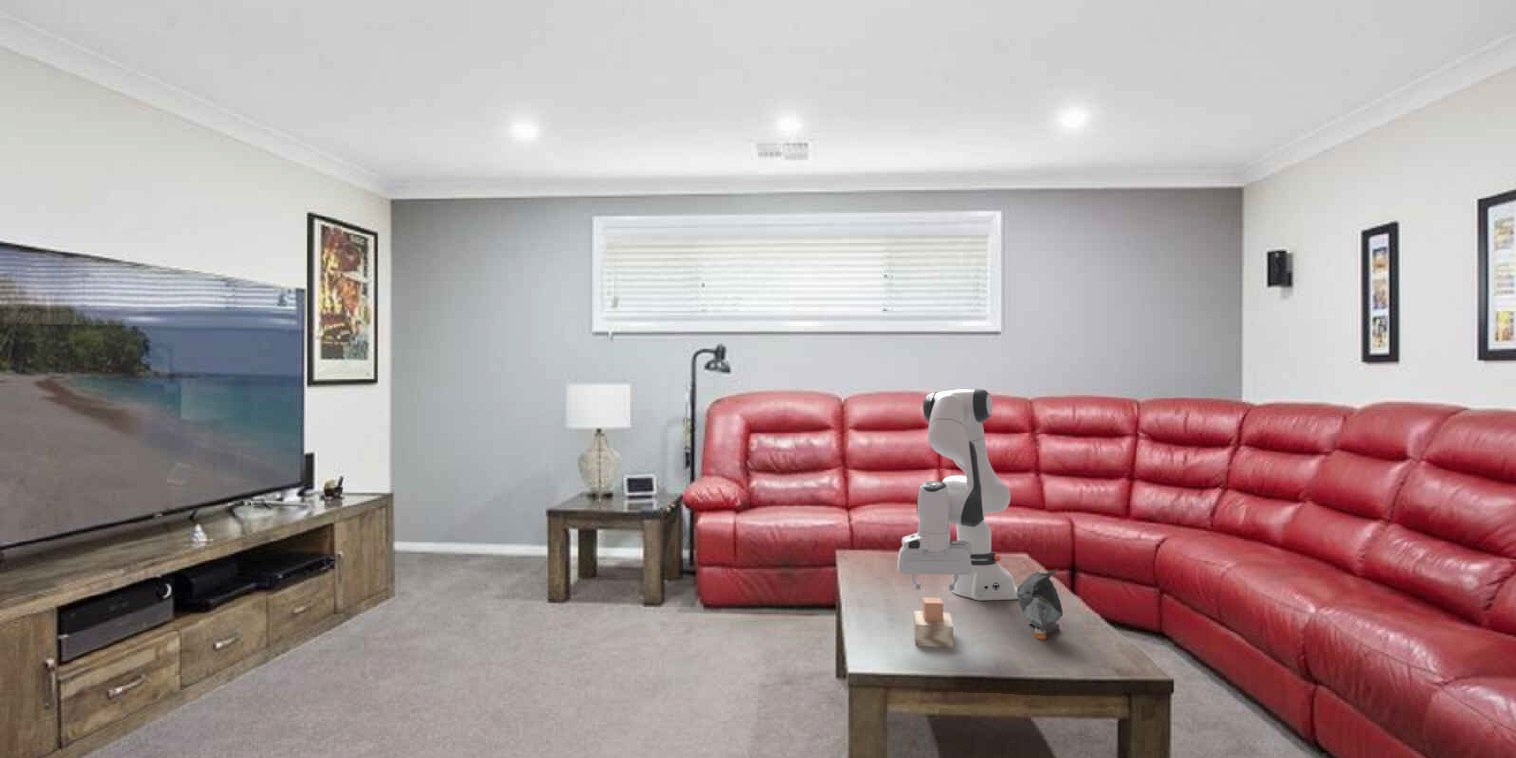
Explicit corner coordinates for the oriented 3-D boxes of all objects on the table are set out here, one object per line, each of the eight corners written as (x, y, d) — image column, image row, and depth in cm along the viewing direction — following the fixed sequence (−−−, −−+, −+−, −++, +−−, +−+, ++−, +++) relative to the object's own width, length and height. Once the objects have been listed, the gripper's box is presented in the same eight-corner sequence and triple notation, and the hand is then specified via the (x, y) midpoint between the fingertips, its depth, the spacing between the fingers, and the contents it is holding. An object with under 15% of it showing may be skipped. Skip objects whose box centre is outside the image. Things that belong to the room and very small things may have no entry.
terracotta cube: (940, 615, 216) (940, 597, 216) (943, 621, 211) (943, 603, 211) (922, 615, 216) (922, 597, 216) (925, 621, 211) (924, 603, 211)
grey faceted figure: (1003, 633, 218) (1003, 570, 217) (1033, 622, 227) (1034, 562, 227) (1048, 647, 206) (1048, 581, 206) (1078, 635, 216) (1079, 572, 215)
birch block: (949, 633, 218) (949, 612, 218) (953, 648, 206) (953, 626, 206) (914, 631, 220) (914, 610, 220) (915, 646, 208) (915, 624, 208)
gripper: (969, 538, 215) (970, 586, 216) (896, 537, 217) (896, 586, 217) (974, 543, 209) (974, 593, 209) (898, 543, 211) (899, 592, 211)
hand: (934, 589), depth 213 cm, fingers open, 8 cm apart
